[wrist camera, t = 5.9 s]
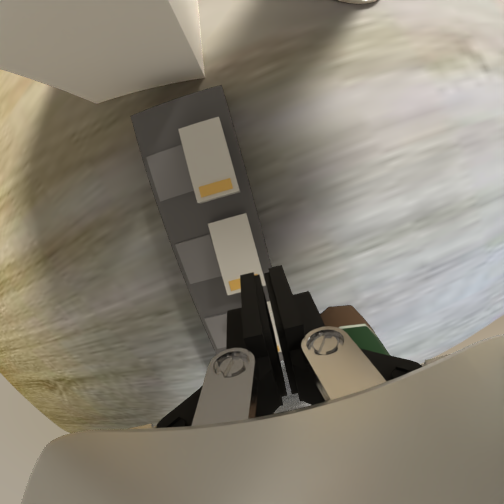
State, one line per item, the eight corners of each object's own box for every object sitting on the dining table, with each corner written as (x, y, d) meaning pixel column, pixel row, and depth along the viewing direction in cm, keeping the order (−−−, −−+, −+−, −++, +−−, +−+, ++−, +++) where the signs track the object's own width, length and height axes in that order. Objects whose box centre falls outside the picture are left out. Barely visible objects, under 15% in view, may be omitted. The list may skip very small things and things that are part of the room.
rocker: (182, 133, 21) (178, 128, 20) (220, 121, 21) (218, 115, 19) (200, 203, 22) (197, 203, 20) (240, 192, 22) (239, 190, 20)
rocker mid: (210, 224, 24) (207, 223, 23) (246, 214, 24) (245, 212, 23) (229, 292, 24) (227, 295, 23) (265, 282, 24) (265, 285, 23)
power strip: (144, 119, 24) (129, 115, 20) (223, 93, 24) (221, 84, 20) (232, 367, 35) (233, 390, 31) (292, 353, 35) (299, 375, 31)
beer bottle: (314, 359, 36) (370, 523, 13) (297, 317, 33) (364, 513, 10) (367, 336, 35) (452, 483, 13) (357, 292, 32) (471, 457, 10)
